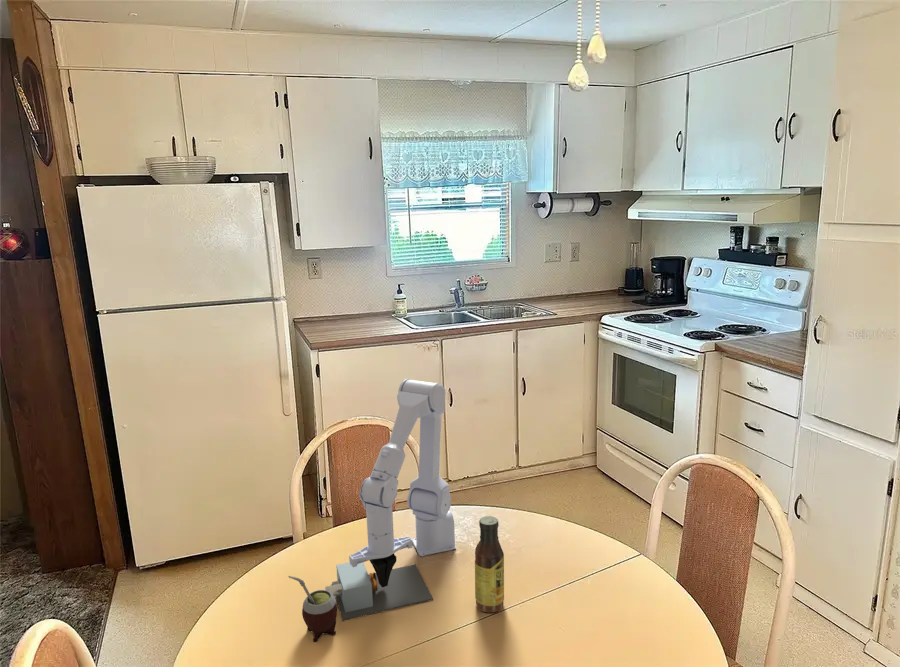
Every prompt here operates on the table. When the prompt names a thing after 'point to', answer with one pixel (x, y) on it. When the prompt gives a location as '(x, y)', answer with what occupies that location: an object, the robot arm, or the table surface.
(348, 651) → the table surface
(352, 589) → the block
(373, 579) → the pin
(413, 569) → the mat
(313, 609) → the mate gourd
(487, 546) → the sauce bottle
